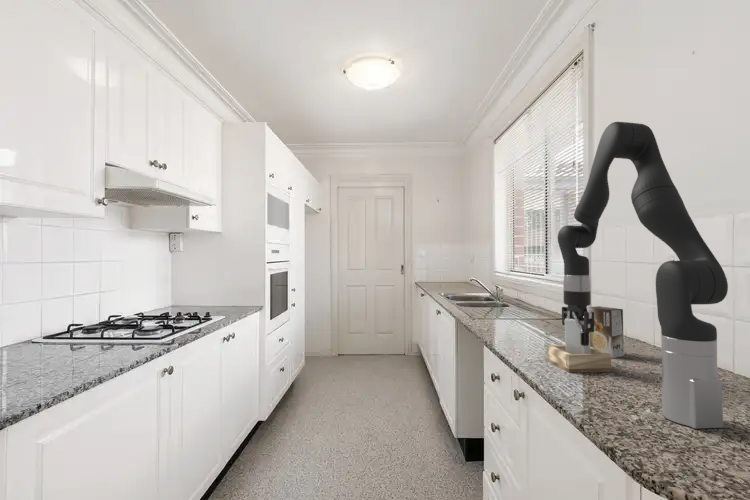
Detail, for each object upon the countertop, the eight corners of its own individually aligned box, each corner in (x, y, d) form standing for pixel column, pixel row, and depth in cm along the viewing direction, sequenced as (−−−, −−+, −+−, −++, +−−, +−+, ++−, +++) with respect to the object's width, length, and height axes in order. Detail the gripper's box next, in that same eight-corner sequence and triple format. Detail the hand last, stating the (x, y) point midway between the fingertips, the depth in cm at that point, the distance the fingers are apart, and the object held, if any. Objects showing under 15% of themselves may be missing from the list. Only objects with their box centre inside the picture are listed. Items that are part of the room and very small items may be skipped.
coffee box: (625, 356, 137) (624, 308, 137) (612, 358, 134) (612, 310, 134) (600, 350, 145) (599, 305, 145) (587, 352, 142) (587, 306, 142)
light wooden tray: (611, 371, 119) (611, 354, 119) (568, 372, 118) (568, 355, 118) (585, 359, 132) (585, 344, 132) (546, 360, 131) (546, 345, 131)
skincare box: (591, 359, 124) (590, 319, 124) (584, 361, 121) (584, 321, 121) (571, 355, 129) (570, 317, 129) (564, 357, 126) (564, 318, 126)
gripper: (602, 291, 119) (603, 347, 118) (575, 287, 133) (576, 337, 133) (578, 291, 118) (579, 348, 118) (553, 287, 132) (553, 338, 132)
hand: (577, 342), depth 125 cm, fingers closed on skincare box, 7 cm apart
